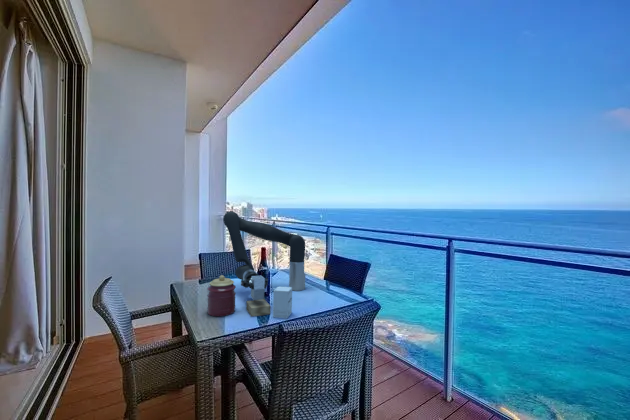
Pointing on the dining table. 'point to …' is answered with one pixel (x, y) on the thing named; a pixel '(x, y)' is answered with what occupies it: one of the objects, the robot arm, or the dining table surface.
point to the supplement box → (282, 302)
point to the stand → (257, 307)
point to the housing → (257, 287)
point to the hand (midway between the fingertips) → (259, 286)
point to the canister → (221, 297)
